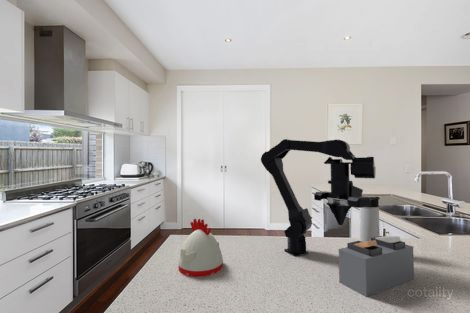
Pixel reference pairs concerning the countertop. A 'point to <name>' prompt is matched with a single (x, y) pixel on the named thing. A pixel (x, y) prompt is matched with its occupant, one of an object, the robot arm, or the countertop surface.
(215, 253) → the kitchen timer
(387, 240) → the white rocker
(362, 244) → the orange rocker
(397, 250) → the switch box
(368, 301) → the countertop surface
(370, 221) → the travel mug
